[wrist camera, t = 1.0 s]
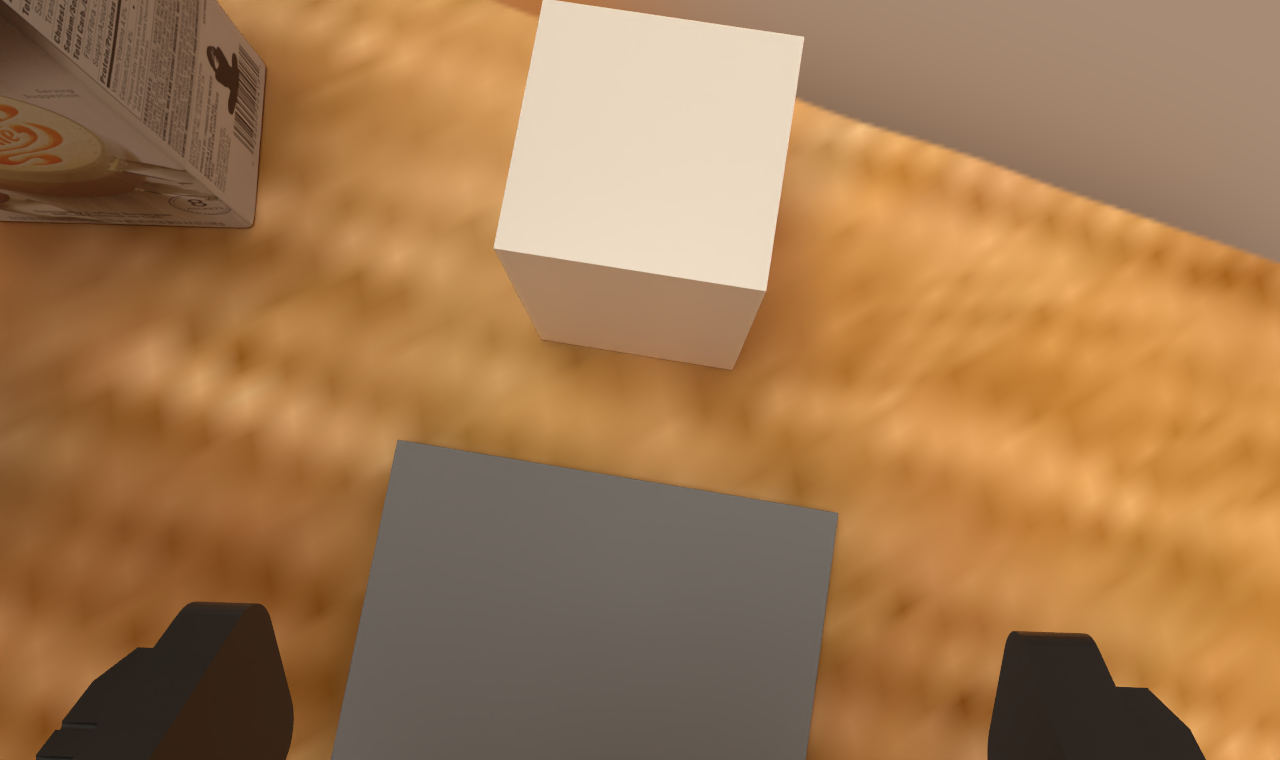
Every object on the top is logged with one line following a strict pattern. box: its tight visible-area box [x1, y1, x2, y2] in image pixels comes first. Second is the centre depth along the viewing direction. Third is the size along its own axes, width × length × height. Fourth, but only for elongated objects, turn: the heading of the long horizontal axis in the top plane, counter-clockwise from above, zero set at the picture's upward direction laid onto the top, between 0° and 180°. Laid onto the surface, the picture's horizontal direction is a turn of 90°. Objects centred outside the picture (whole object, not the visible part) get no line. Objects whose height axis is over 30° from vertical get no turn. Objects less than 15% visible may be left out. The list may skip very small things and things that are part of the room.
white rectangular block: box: [494, 0, 804, 370], centre depth 29 cm, size 6×6×10 cm
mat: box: [331, 440, 838, 760], centre depth 31 cm, size 14×14×1 cm
